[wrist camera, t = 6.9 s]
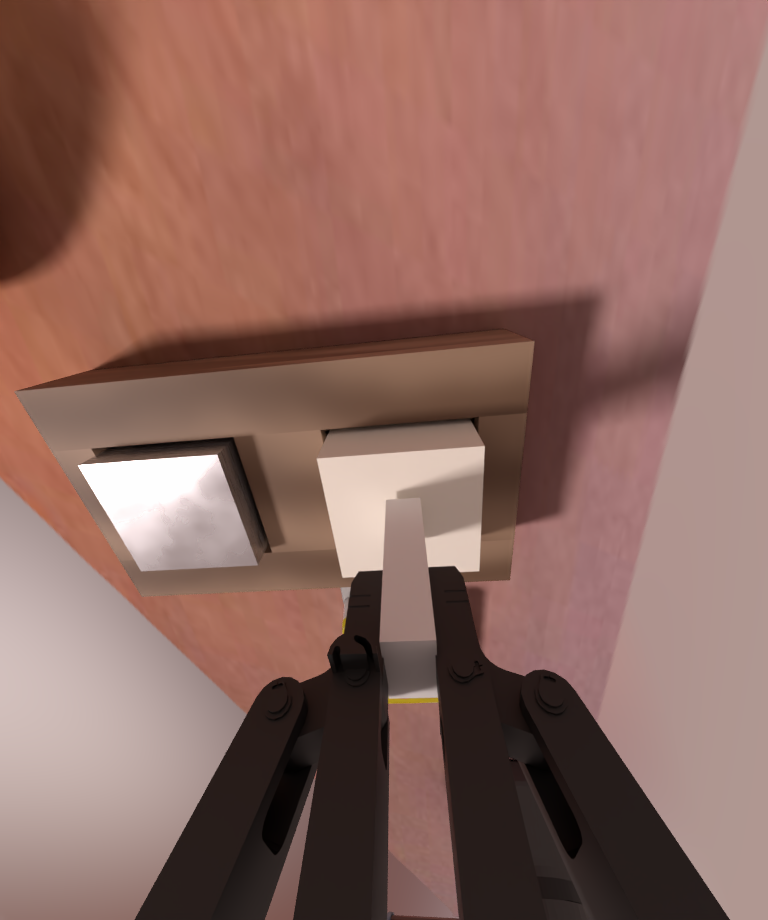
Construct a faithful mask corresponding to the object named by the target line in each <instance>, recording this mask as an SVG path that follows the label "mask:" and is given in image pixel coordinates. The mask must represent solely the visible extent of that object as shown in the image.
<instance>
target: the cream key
mask: <svg viewBox="0 0 768 920" xmlns="http://www.w3.org/2000/svg"><path fill="white" fill-rule="evenodd" d="M484 453H485V445H484V444H483V442H482V440H481V438H480V436H479V435H478V433H477V431H476V429H475V427H474V426H473V424H472V422H471V420H470V418H461V419H449V420H436V421H424V422H412V423H400V424H387V425H375V426H363V427H350V428H338V429H330V431H329V433H328V435H327V437H326V439H325V442H324V444H323V446H322V448H321V450H320V452H319V455H318V457H317V462H318V467H319V472H320V476H321V481H322V485H323V490H324V495H325V499H326V504H327V508H328V513H329V518H330V522H331V527H332V531H333V536H334V541H335V545H336V550H337V555H338V559H339V564H340V568H341V573H342V578H348V577H355V576H356V575H357V573H358V572H359V571H376V570H383V554H384V533H385V512H386V500H391V499H406V498H420V500H421V508H422V517H423V526H424V535H425V544H426V553H427V562H428V567H441V566H455V567H456V568H457V569H458V570H459V572H474V571H479V567H480V544H481V521H482V499H483V476H484Z"/></svg>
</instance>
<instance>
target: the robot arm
mask: <svg viewBox="0 0 768 920" xmlns="http://www.w3.org/2000/svg"><path fill="white" fill-rule="evenodd" d="M349 596H350V598H349V602H348V609H347V615H346V622H345V629H344V634H343V635H341V636H340V637H338V638H337V639H336V640H335V641H334V642H333V644H332V645H331V646H330V649H329V652H328V654H327V656H328V659H329V662H330V666H331V668H330V669H329V670H327V671H326V672H325V673H323V674H321V675H319V676H317V677H314V678H312V679H309V680H306V681H304V682H301V683H299V682H298V681H297V680H295V679H293V678H291V677H281V678H279V679H276V680H273V681H272V682H270V683H269V684H268V685H266V686H265V687H264V688H263V689H262V691H261V692H260V693H259V695H258V696H257V697H256V699H255V701H254V703H253V705H252V706H251V708H250V710H249V712H248V714H247V716H246V718H245V719H244V721H243V723H242V725H241V727H240V728H239V730H238V732H237V734H236V736H235V738H234V739H233V741H232V743H231V745H230V747H229V749H228V750H227V752H226V754H225V756H224V758H223V759H222V761H221V763H220V765H219V767H218V769H217V770H216V772H215V774H214V776H213V778H212V779H211V781H210V783H209V785H208V787H207V789H206V790H205V792H204V794H203V796H202V798H201V800H200V801H199V803H198V805H197V807H196V809H195V810H194V812H193V814H192V816H191V818H190V820H189V821H188V823H187V825H186V827H185V829H184V831H183V832H182V834H181V836H180V838H179V840H178V841H177V843H176V845H175V847H174V849H173V851H172V853H171V854H170V856H169V858H168V860H167V862H166V863H165V865H164V867H163V869H162V871H161V873H160V874H159V876H158V878H157V880H156V882H155V883H154V885H153V887H152V889H151V891H150V893H149V894H148V896H147V898H146V900H145V902H144V903H143V905H142V907H141V909H140V911H139V913H138V914H137V916H136V919H135V920H265V917H266V915H267V912H268V909H269V906H270V903H271V900H272V897H273V894H274V891H275V889H276V886H277V882H278V880H279V877H280V874H281V871H282V868H283V866H284V863H285V860H286V857H287V854H288V851H289V848H290V845H291V843H292V839H293V837H294V834H295V831H296V828H297V825H298V822H299V819H300V817H301V813H302V811H303V808H304V805H305V802H306V799H307V796H308V793H309V791H310V788H311V785H312V782H313V779H314V776H315V773H316V770H317V774H316V780H315V787H314V793H313V799H312V806H311V812H310V818H309V825H308V831H307V837H306V843H305V850H304V855H303V862H302V868H301V874H300V880H299V886H298V893H297V899H296V906H295V912H294V918H293V920H730V919H729V918H728V916H727V915H726V913H725V912H724V910H723V909H722V907H721V906H720V904H719V903H718V902H717V900H716V899H715V897H714V896H713V894H712V893H711V891H710V890H709V888H708V887H707V885H706V884H705V882H704V881H703V879H702V878H701V876H700V875H699V873H698V872H697V870H696V869H695V868H694V866H693V865H692V863H691V861H690V860H689V858H688V857H687V856H686V854H685V853H684V851H683V850H682V848H681V847H680V845H679V844H678V842H677V841H676V839H675V838H674V836H673V835H672V833H671V832H670V830H669V829H668V827H667V826H666V825H665V823H664V821H663V820H662V819H661V817H660V816H659V814H658V813H657V811H656V810H655V808H654V807H653V805H652V804H651V803H650V801H649V799H648V798H647V796H646V795H645V793H644V792H643V790H642V789H641V787H640V786H639V784H638V783H637V781H636V780H635V779H634V777H633V776H632V774H631V773H630V771H629V770H628V768H627V767H626V765H625V764H624V762H623V761H622V759H621V758H620V756H619V755H618V754H617V752H616V750H615V749H614V747H613V746H612V744H611V743H610V742H609V740H608V739H607V737H606V736H605V734H604V733H603V731H602V730H601V728H600V727H599V725H598V724H597V722H596V721H595V719H594V718H593V716H592V715H591V713H590V712H589V710H588V709H587V707H586V706H585V704H584V703H583V702H582V700H581V699H580V697H579V696H578V694H577V693H576V691H575V690H574V689H573V687H572V686H571V685H570V684H569V683H568V682H567V681H566V680H565V679H563V678H562V677H560V676H559V675H557V674H556V673H553V672H550V671H547V670H534V671H532V672H530V673H529V674H527V675H526V676H522V675H519V674H516V673H513V672H509V671H506V670H504V669H501V668H499V667H497V666H496V665H494V664H493V663H491V662H490V661H489V660H488V659H487V658H486V657H485V655H484V654H483V652H482V651H481V649H480V646H479V643H478V639H477V634H476V630H475V626H474V621H473V617H472V613H471V608H470V604H469V599H468V595H467V592H466V586H465V582H464V578H463V576H462V574H461V573H460V572H459V570H458V569H457V568H456V567H455V566H441V567H428V562H427V553H426V544H425V535H424V526H423V517H422V508H421V500H420V498H406V499H391V500H386V512H385V533H384V554H383V570H376V571H359V572H358V573H357V575H356V576H355V578H354V579H353V581H352V583H351V589H350V595H349ZM388 696H389V699H397V698H438V702H439V714H440V735H441V739H442V749H443V759H444V769H445V780H446V790H447V800H448V810H449V821H450V831H451V841H452V852H453V862H454V872H455V882H456V893H457V903H458V913H459V919H456V918H437V917H419V916H418V917H417V916H399V915H394V913H393V912H388V913H387V883H388V882H387V881H388V879H387V877H388V804H389V725H390V722H389V716H388ZM509 757H510V758H513V759H515V760H518V762H514V761H509Z"/></svg>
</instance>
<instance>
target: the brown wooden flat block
mask: <svg viewBox="0 0 768 920" xmlns="http://www.w3.org/2000/svg"><path fill="white" fill-rule="evenodd" d="M534 342H535V341H533V340H531V339H528V338H526V337H523V336H521V335H518V334H516V333H513V332H511V331H508V330H506V329H496V330H486V331H476V332H466V333H456V334H446V335H436V336H426V337H416V338H406V339H396V340H386V341H376V342H366V343H357V344H347V345H337V346H327V347H317V348H307V349H297V350H287V351H277V352H267V353H257V354H247V355H237V356H227V357H217V358H207V359H197V360H187V361H177V362H167V363H157V364H147V365H137V366H127V367H117V368H107V369H97V370H90V371H86V372H83V373H79V374H75V375H72V376H68V377H64V378H61V379H57V380H54V381H50V382H46V383H43V384H39V385H36V386H32V387H28V388H25V389H21V390H18V391H14V392H15V394H16V395H17V397H18V398H19V400H20V402H21V403H22V405H23V406H24V408H25V410H26V411H27V413H28V414H29V416H30V418H31V419H32V421H33V423H34V424H35V426H36V427H37V429H38V431H39V432H40V434H41V435H42V437H43V439H44V440H45V442H46V443H47V445H48V447H49V448H50V450H51V451H52V453H53V455H54V456H55V458H56V459H57V461H58V463H59V464H60V466H61V467H62V469H63V471H64V472H65V474H66V476H67V477H68V479H69V480H70V482H71V484H72V485H73V487H74V488H75V490H76V492H77V493H78V495H79V496H80V498H81V500H82V501H83V503H84V504H85V506H86V508H87V509H88V511H89V512H90V514H91V516H92V517H93V519H94V520H95V522H96V524H97V525H98V527H99V529H100V530H101V532H102V533H103V535H104V537H105V538H106V540H107V541H108V543H109V545H110V546H111V548H112V549H113V551H114V553H115V554H116V556H117V557H118V559H119V561H120V562H121V564H122V565H123V567H124V569H125V570H126V572H127V574H128V575H129V577H130V578H131V580H132V582H133V583H134V585H135V586H136V588H137V590H138V591H139V593H140V594H141V596H142V597H144V596H167V595H189V594H211V593H233V592H255V591H277V590H299V589H322V588H344V587H351V583H352V581H353V579H354V578H355V577H348V578H342V573H341V568H340V564H339V559H338V555H337V550H336V545H335V541H334V536H333V531H332V527H331V522H330V518H329V513H328V508H327V504H326V499H325V495H324V490H323V485H322V481H321V476H320V472H319V467H318V462H317V457H318V455H319V452H320V450H321V448H322V446H323V444H324V442H325V439H326V437H327V435H328V433H329V431H330V429H338V428H350V427H363V426H375V425H387V424H400V423H412V422H424V421H436V420H449V419H461V418H470V420H471V422H472V424H473V426H474V427H475V429H476V431H477V433H478V435H479V436H480V438H481V440H482V442H483V444H484V445H485V453H484V476H483V499H482V521H481V544H480V567H479V571H474V572H460V573H461V574H462V576H463V578H464V582H477V581H499V580H510V574H511V565H512V555H513V545H514V535H515V526H516V516H517V506H518V497H519V487H520V477H521V468H522V458H523V448H524V439H525V429H526V419H527V410H528V400H529V390H530V380H531V371H532V361H533V351H534ZM227 437H234V440H235V443H236V446H237V449H238V452H239V455H240V458H241V461H242V464H243V467H244V470H245V473H246V476H247V479H248V482H249V485H250V488H251V491H252V494H253V497H254V500H255V503H256V506H257V509H258V512H259V515H260V518H261V521H262V524H263V527H264V530H265V533H266V536H267V539H268V542H269V544H268V546H267V548H266V550H265V552H264V554H263V556H262V558H261V560H260V562H259V564H258V565H256V566H236V567H216V568H197V569H177V570H158V571H141V570H140V569H139V567H138V565H137V564H136V562H135V560H134V559H133V557H132V555H131V553H130V552H129V550H128V548H127V547H126V545H125V543H124V542H123V540H122V538H121V537H120V535H119V533H118V532H117V530H116V528H115V527H114V525H113V523H112V521H111V520H110V518H109V516H108V515H107V513H106V511H105V510H104V508H103V506H102V505H101V503H100V501H99V500H98V498H97V496H96V495H95V493H94V491H93V490H92V488H91V486H90V484H89V483H88V481H87V479H86V478H85V476H84V474H83V473H82V471H81V469H80V468H79V466H78V465H80V464H82V463H83V462H85V461H87V460H89V459H90V458H92V457H94V456H96V455H97V454H99V453H101V452H103V451H105V450H106V449H108V448H110V447H117V446H129V445H141V444H154V443H166V442H178V441H191V440H203V439H215V438H227Z"/></svg>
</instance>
